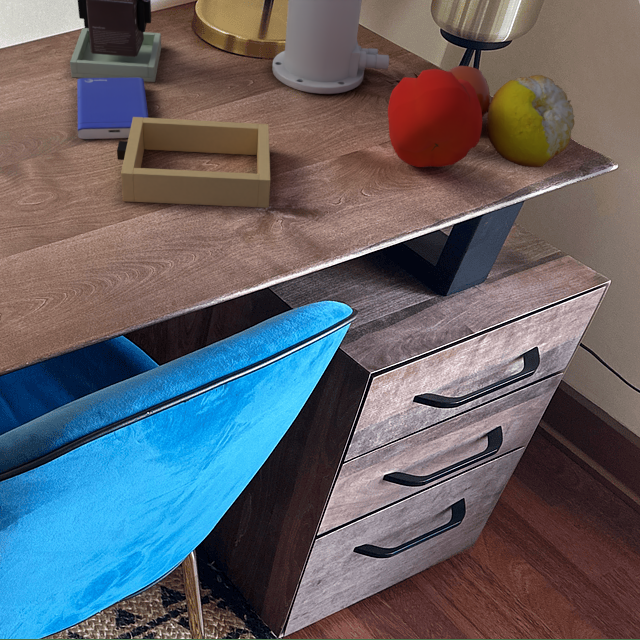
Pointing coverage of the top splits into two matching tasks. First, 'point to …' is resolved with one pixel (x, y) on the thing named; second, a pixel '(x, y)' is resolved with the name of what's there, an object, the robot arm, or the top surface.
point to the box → (114, 27)
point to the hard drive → (109, 106)
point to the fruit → (530, 120)
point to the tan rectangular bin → (195, 183)
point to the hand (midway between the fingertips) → (116, 24)
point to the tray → (116, 60)
